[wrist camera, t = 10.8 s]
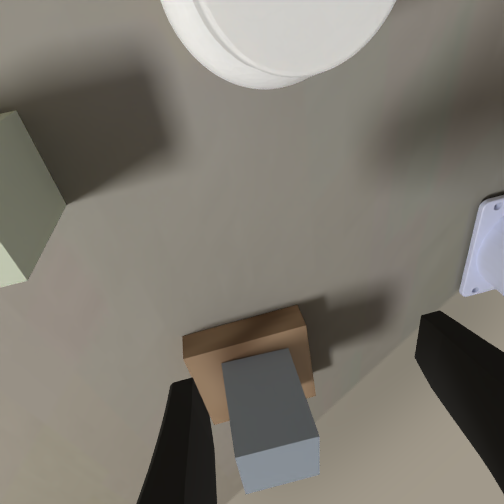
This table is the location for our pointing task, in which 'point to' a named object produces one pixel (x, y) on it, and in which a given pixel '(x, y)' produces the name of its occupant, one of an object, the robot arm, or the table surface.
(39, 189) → the sage block
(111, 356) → the table surface
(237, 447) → the slate block
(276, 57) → the pill bottle
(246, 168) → the table surface
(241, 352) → the walnut block
